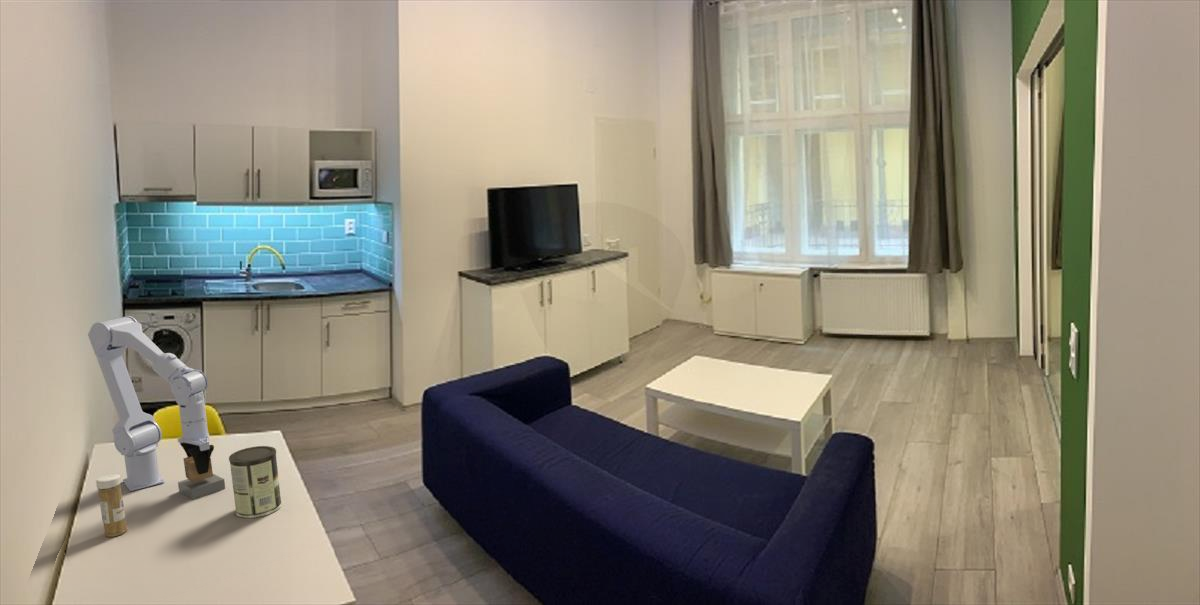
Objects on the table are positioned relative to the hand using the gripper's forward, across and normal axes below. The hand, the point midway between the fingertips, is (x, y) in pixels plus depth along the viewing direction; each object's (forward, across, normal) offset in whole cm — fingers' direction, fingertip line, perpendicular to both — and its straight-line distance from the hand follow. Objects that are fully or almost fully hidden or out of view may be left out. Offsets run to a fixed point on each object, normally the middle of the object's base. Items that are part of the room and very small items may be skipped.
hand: (199, 470), depth 195 cm
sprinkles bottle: (+6, +11, -21) cm, 25 cm away
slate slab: (+6, 0, 0) cm, 6 cm away
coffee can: (+6, +22, +6) cm, 24 cm away
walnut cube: (+2, 0, 0) cm, 2 cm away
